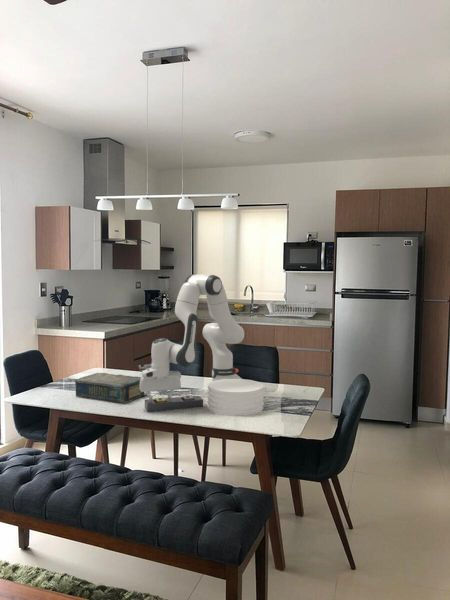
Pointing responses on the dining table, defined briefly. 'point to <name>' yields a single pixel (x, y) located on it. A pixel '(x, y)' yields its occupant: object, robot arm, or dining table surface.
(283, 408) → the dining table surface
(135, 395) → the metal box
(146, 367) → the mechanical component
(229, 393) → the plate stack
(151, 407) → the rail
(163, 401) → the wooden cube with knob
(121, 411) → the dining table surface
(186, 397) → the grey knobbed square block
